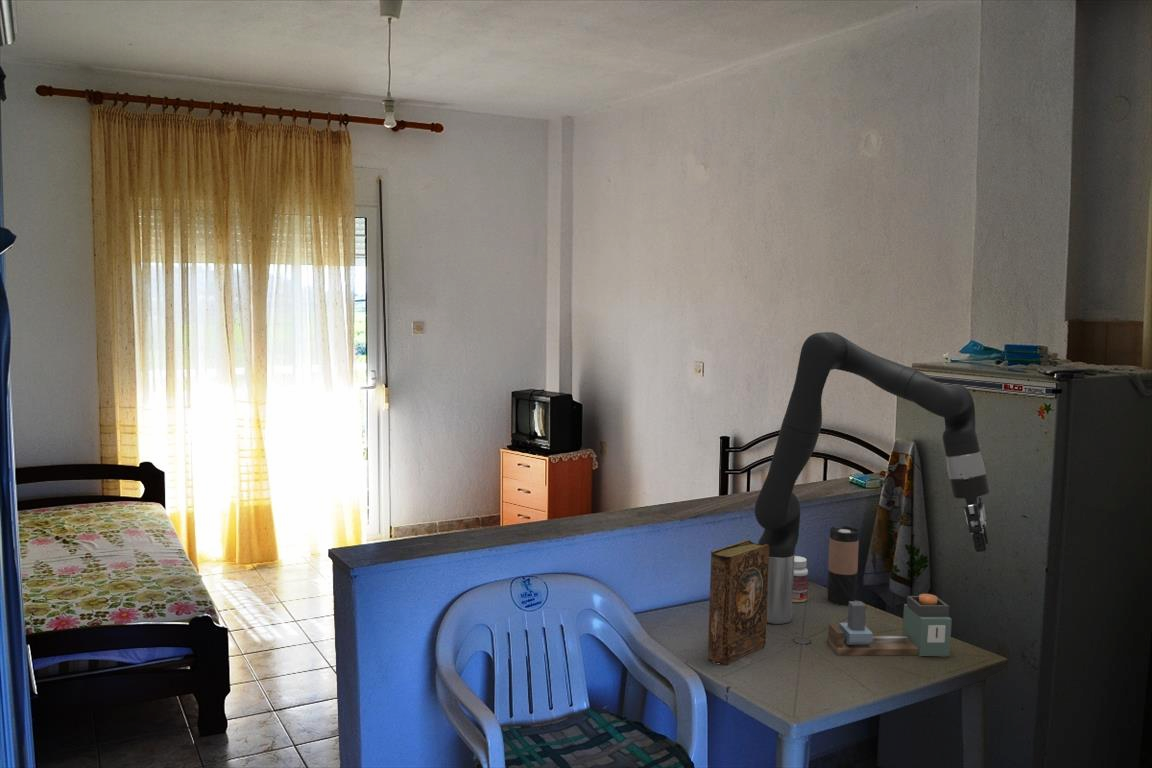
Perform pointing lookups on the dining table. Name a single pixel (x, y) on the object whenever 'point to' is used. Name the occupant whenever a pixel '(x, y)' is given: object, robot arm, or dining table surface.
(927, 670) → the dining table surface
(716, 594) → the book
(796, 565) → the pill bottle
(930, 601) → the button
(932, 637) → the cabinet
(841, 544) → the travel mug
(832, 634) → the rail stand
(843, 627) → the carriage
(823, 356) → the robot arm
